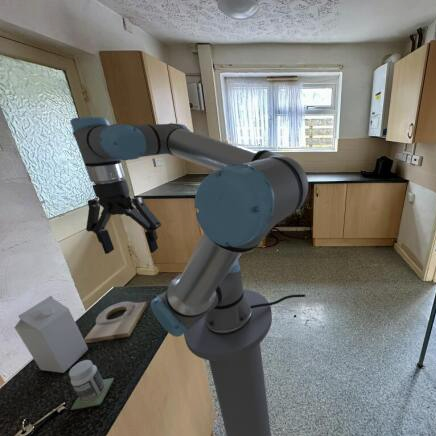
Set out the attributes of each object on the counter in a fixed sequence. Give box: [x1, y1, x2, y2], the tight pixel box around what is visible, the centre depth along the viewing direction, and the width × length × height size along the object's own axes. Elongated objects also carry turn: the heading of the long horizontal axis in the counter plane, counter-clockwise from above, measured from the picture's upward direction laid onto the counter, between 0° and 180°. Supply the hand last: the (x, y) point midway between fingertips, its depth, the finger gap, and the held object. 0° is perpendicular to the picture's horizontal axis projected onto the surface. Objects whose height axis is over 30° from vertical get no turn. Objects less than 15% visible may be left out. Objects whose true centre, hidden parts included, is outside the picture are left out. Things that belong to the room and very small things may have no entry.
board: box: [83, 300, 148, 344], centre depth 78 cm, size 14×16×2 cm
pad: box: [70, 377, 115, 411], centre depth 56 cm, size 6×6×1 cm
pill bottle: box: [68, 359, 105, 402], centre depth 55 cm, size 5×5×8 cm
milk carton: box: [14, 295, 89, 374], centre depth 62 cm, size 7×7×19 cm
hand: (132, 251), depth 70 cm, fingers open, 13 cm apart
